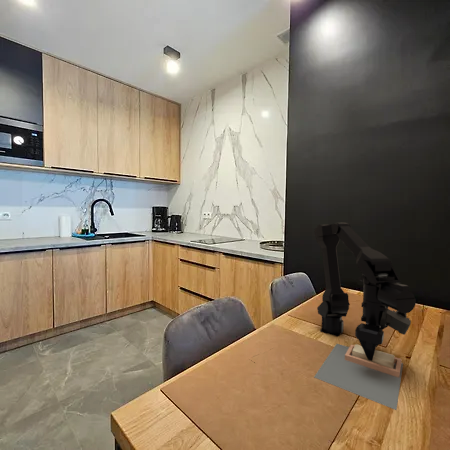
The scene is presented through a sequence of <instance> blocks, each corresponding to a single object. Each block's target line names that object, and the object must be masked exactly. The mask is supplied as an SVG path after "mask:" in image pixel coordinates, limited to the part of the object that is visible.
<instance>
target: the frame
mask: <svg viewBox="0 0 450 450" xmlns="http://www.w3.org/2000/svg"><path fill="white" fill-rule="evenodd" d="M355 345H356V344H352V343H351V344H350V346H348V347H349V349H348V351H347V352H346V354H345V360H347V361H350V362H353V363H356V364H359V365H362V366H365V367H368V368H371V369H374V370H377V371H381V372H384V373H387V374H390V375H393V376H396V377H399V376H400V369H401V363H402V358H399V357H396V356H394V363H395V364H396V369H392V368H389V367H386V366H383V365H380V364H377V363H373V362H370V361H367V360H364V359H361V358H358V357H354V356H351V354H352V350H353V348H354V346H355Z"/></svg>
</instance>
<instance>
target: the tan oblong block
mask: <svg viewBox="0 0 450 450" xmlns="http://www.w3.org/2000/svg"><path fill="white" fill-rule="evenodd" d="M354 345H355V346H354V348H353V350H352V356H354V357H358V358H361V359H364V360H367V361H370V360H368V359H367V357H366V354H365V352H364V350H363V348H362V346H361V344H356V343H355V344H354ZM394 357H396V356H395V355H394V354H392V353H388V352H385V351H382V350H381V351H380V350H377V349H375V353H374V356H373V360H372V361H370V362H373V363H377V364H380V365H383V366H386V367H389V368H392V369H393V368H394Z"/></svg>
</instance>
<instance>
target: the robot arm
mask: <svg viewBox="0 0 450 450" xmlns="http://www.w3.org/2000/svg"><path fill="white" fill-rule="evenodd" d="M313 232H314V236H315V241H316V243H317V245H318V246H319V248H321V254H322V262H323V272H324V279H325V288H324V289H325V290H324V292H323V293H322V302H321V303H320V304H319V305H318V306H317V313H318V315H320V316H321V329H320V330H319V332H320V333H324V334H327V335H330V336H335V337H336V338H337V337H340V336H341V335H342V334H343V332H344V320H343V317H347V315H348V312H349V309H350V306H351V304H350V299H349V294H348V292H344V290H343V289H342V286H341V285H342V284H341V277H340V270H339V261H338V252H337V247H338V245H339V243H340V240H341V242H342V243H343V244H344V245H345V246H346V248H347V249H348V250H349V251H350V252H351V253H352V255H353V256H354V257H355V259H356V261H355V262H356V263H355V264H356V266H357V268H358V269H359V271H360V273H361V274H362V275H361V276H360V277H358V279H357V280H358V281H360V282H363V288H362V289H363V290H362V293H363V295H362V302H361V305H360V306H361V307H362V315H361V316H360V321H361V322H362V323H359V324H358V325H357V326H356V328H355V330H354V332H355V333H354V335H355V336H354V337H356V339H357V340H358V342H359V343H360V344H359V345H360V346H362V348H363V350H364V352H365V354H366V357H367V359H368V360H370V361H372V360H373V356H374V353H375V350H377V349H376V348H378V346H381V345H383V342H384V337H385V331H384V330H385V329H386V328H388V327H390V328H392V329H393V330H395V331H396V332H398V333H399V334H401V335H406V334H407V332H408V330H409V328H410V326H411V322H412V321H411V319H410V317H407V314H409V313H411V312H412V311H413V310H414V308H415V307H416V303H417V299H416V298H415V297H416V296H415V295H414V293H413V292H412V291H411V290H410V286H409V285H407V284H402V283H401V280H400V277H399V275H398V273H397V271H396V270H395V268H394V266H393V264H392V261H391V259H390V258H389V257H388V256H386V255H385V254H383V253H382V252H380V251H379V250H376V249H373V248H372V247H370V246H369V245H368V244H367V243H366V242H365V241H364V240H363V239H362V237H360V235H359V234H358V233H357V232H356V231H355V230H354V229H353V228H352V226H351V224H349V223H348V222H335V223H332V224H318V225H317V226H316V227H315V229H314V231H313ZM389 308H390V309H389ZM391 309H392V310H391ZM364 322H365V323H364Z"/></svg>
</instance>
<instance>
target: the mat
mask: <svg viewBox="0 0 450 450" xmlns="http://www.w3.org/2000/svg"><path fill="white" fill-rule="evenodd" d="M349 347H350V346H346V345H343V344H339V343H336V344H335V346H334V347H333V348H332V350H331V351H330V352H329V354H328V356H327V357H326V359H325V360H324V362H323V363H322V365H321V366H320V367H319V369H318V370H317V372H316V373H315V375H314V376H313V378H314V379H317V380H320V381H322V382H325V383H327V384H329V385H332V386H334V387H337V388H340V389H342V390H345V391H347V392H350V393H352V394H354V395H357V396H360V397H362V398H365V399H367V400H370V401H373V402H375V403H376V404H380V405H383V406H385V407H387V408H390V409H392V410H394V411H397V408H398V402H399V395H400V387H401V380H402V373H403V367H404V363H403V362H401V369H400V376H399V377H396V376H393V375H390V374H387V373H384V372H381V371H377V370H374V369H371V368H368V367H365V366H362V365H359V364H356V363H353V362H350V361H347V360H345V354H346V352H347V351H348V349H349ZM351 356H352V354H351ZM393 369H396V364H395V363H394V368H393Z"/></svg>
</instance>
